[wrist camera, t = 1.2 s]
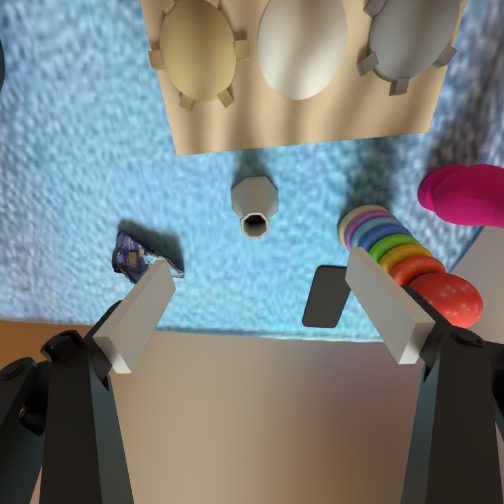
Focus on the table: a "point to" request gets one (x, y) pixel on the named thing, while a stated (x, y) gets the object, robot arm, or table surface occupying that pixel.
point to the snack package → (132, 251)
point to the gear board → (298, 69)
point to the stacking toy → (410, 263)
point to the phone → (326, 297)
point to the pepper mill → (465, 194)
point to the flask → (254, 205)
